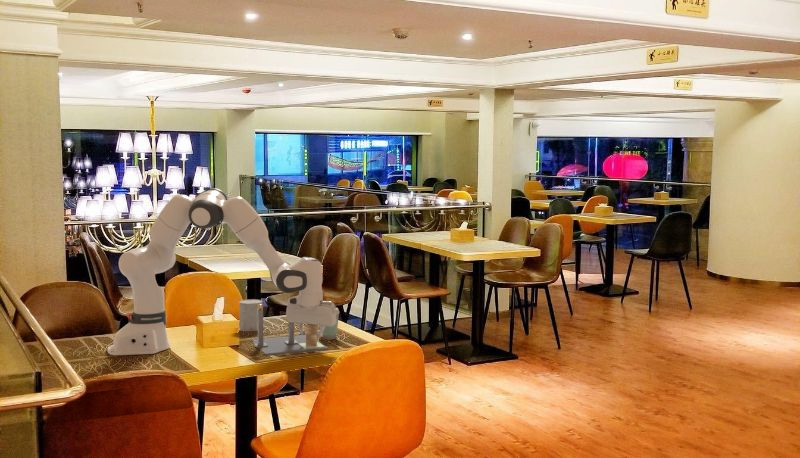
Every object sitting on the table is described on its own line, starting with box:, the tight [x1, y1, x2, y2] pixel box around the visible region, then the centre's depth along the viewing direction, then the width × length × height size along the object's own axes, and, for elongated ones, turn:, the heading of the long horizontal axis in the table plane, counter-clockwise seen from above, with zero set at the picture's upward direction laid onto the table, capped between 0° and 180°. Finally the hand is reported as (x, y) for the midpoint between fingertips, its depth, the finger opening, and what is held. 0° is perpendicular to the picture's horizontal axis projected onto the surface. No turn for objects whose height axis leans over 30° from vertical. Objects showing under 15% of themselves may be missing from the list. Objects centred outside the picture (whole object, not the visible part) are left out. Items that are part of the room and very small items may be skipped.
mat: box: [251, 334, 329, 357], centre depth 320 cm, size 24×24×1 cm
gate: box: [253, 303, 298, 349], centre depth 317 cm, size 16×4×16 cm, turn 112°
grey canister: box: [238, 298, 263, 332], centre depth 345 cm, size 10×10×12 cm
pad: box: [299, 341, 326, 349], centre depth 316 cm, size 8×8×1 cm
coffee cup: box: [321, 307, 340, 341], centre depth 332 cm, size 8×8×12 cm
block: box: [305, 324, 319, 346], centre depth 316 cm, size 4×4×8 cm
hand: (311, 335), depth 316 cm, fingers open, 6 cm apart
